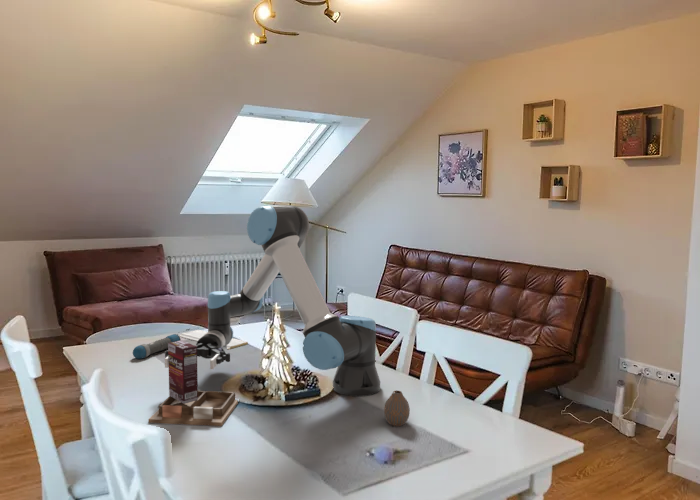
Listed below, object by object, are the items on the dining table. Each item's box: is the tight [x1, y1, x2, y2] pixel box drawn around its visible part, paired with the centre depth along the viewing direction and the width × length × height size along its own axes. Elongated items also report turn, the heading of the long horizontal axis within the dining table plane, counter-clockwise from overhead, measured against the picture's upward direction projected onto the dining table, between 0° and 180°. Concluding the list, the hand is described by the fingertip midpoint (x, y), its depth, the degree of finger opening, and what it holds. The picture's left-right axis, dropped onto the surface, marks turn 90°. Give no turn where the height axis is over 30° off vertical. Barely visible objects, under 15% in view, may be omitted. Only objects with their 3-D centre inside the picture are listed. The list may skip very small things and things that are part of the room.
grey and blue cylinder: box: [132, 333, 182, 360], centre depth 221 cm, size 5×22×5 cm, turn 156°
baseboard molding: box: [176, 327, 249, 350], centre depth 239 cm, size 31×3×12 cm
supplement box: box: [167, 339, 199, 404], centre depth 165 cm, size 9×5×16 cm, turn 45°
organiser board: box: [147, 390, 239, 427], centre depth 163 cm, size 20×18×4 cm
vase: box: [383, 390, 411, 427], centre depth 157 cm, size 7×7×9 cm
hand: (188, 364), depth 170 cm, fingers open, 13 cm apart
